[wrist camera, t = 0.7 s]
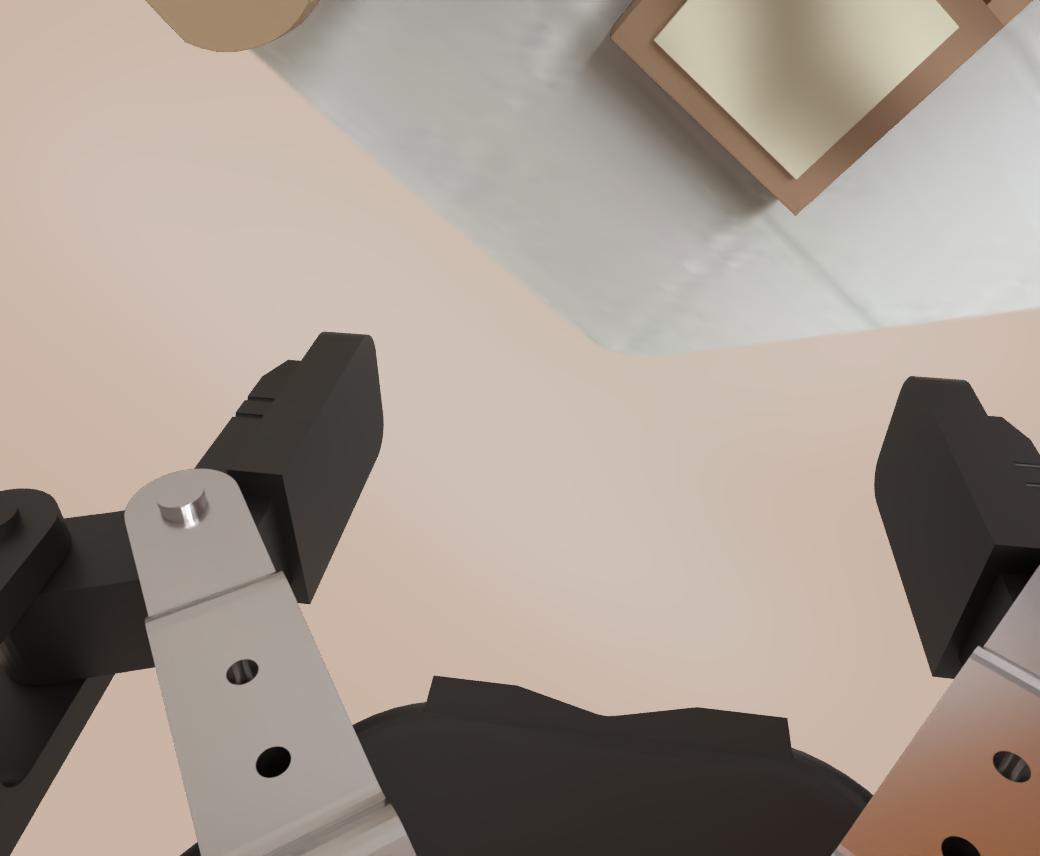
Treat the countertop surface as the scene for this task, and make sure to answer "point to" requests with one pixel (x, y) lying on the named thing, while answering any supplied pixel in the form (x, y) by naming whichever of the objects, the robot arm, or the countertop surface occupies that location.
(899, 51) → the divided tray
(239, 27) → the handle
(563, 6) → the countertop surface
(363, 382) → the robot arm
